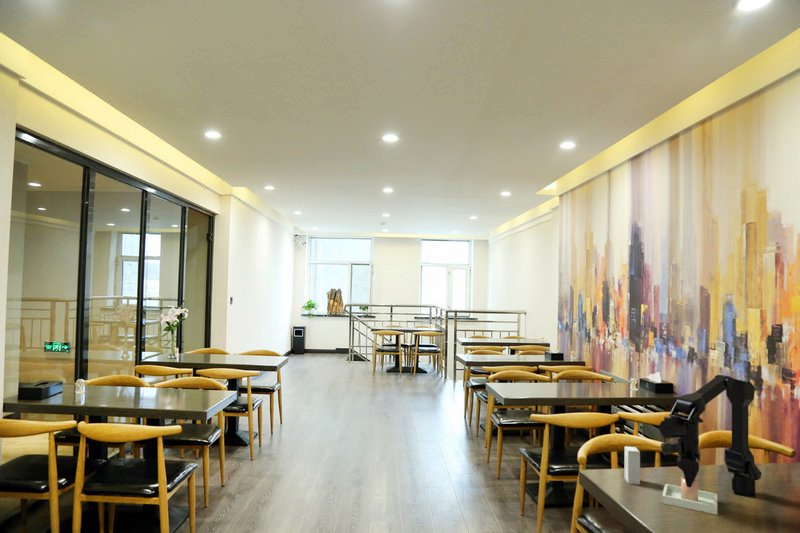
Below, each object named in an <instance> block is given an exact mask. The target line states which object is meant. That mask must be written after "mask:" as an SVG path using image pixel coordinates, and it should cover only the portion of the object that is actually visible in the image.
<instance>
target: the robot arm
mask: <svg viewBox="0 0 800 533" xmlns="http://www.w3.org/2000/svg"><path fill="white" fill-rule="evenodd" d="M723 392H725V393H726V397H727V399H728V402H730V404H731V443H730V444H731V445H730V446H729V448H728V449H726V448H725V450H724V459H723V461H724V462H725V465H726V469H727V472H728V473H731V474H733V476H731V491H733V494H734V495H739V496H743V497H749V498H754V499H756V498H757V494H756V481H759V480H761V478H762V474H763V472H762V471H761V470H760V469H759V468H758V467H757V465H756V464H755V462H756V461H755V456H754V454H753V453H752V451H751V450H750V448H749V406H750V405H751V404H752V402H753V401H754V400H755V392H756V387H755V385H754V384H753V383H752V382H751V381H748V380H741V379H738V378H737V379H736V378H733V377H731V376H730V375H724V374H716V375H714V377H713V378H712V379H711V380H710V381H709V382H707V383H705V384H704V385H703V386H702V387H700V388H699V389H698V390H696V391H694V392H692V393H685V394H684V395H682V396H679V397H678V398H677V399H676V400H675V403H674V405H673V407H672V409H671V411H670V412H669V414H668V416H664V417H663V418H664V419H663V420H661V422H660V423H659V424H658V429H659V433H660V434H661V436H663V437H664V438H666V439H673V438H674V439H675V438H678V439H677V440H672V441H671V440H670V441H665V442H661V443H660V448H661V451H662V454H663V455H664V456H668V455H671V454H677V455H678V457H677V459H676V461H677V462H676V466H677V467H678V468H679V469H680V470H681V471H682V472H683V476H684V477H685V481H686V485H687V487H691V486H692V484H693V482H694V479H695V478H696V477H697V475H698V473H699V472H700V461H701V450H700V437H699V434H700V432H699V431H700V430H699V428H700V427H699V426H700V425H699V424H700V423H704V420H703V419H702V418H701V417H700V416H701V415H702V414H704V412H705V411H706V407H707V406H706V405H707V404H708V403H711V401H712V400H714V399H715V398H716V397H718V396H719V395H720V394H723Z"/></svg>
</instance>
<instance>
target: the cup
mask: <svg viewBox="0 0 800 533" xmlns="http://www.w3.org/2000/svg"><path fill="white" fill-rule="evenodd" d="M680 487H681V499H686V500H691V501H696V502H698V490H699V479H697V478H696V477H695V479H694V482H693V484H692V486H691V487H687V485H686V481H685V477H684V475H682V476H681V477H680Z"/></svg>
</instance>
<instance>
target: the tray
mask: <svg viewBox="0 0 800 533" xmlns="http://www.w3.org/2000/svg"><path fill="white" fill-rule="evenodd" d="M661 503H662V504H665V505H670V506H674V507H679V508H684V509H688V510H692V511H693V510H694V511H698V512H702V511H703V512H702V513H707V514H712V515H718V493H716V492H715V493H714V492H709V491H704V490H700V489H698V502H696V501H691V500H686V499H681V486H678V485H673V484H668V483H664V487H663V491H662V495H661Z"/></svg>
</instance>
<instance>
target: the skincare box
mask: <svg viewBox="0 0 800 533" xmlns="http://www.w3.org/2000/svg"><path fill="white" fill-rule="evenodd" d="M623 475H624V476H623V477H624V480H625V481H626V483H627V484H630V485H638V486H639V485H641V452H640V450H639V449H638V448H637V446H636V447H635V446H627V445H625V446H624V474H623Z"/></svg>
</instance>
